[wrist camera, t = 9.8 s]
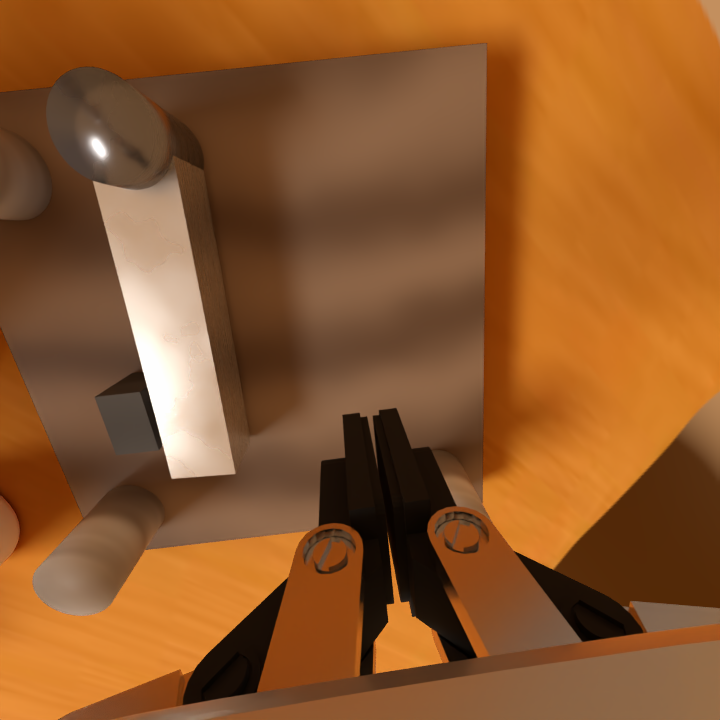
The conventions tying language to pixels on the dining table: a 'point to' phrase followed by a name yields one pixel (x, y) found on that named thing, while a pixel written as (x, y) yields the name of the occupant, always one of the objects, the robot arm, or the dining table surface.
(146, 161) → the hinged leg
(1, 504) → the milk bottle
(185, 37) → the dining table surface
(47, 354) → the brown board with pegs
